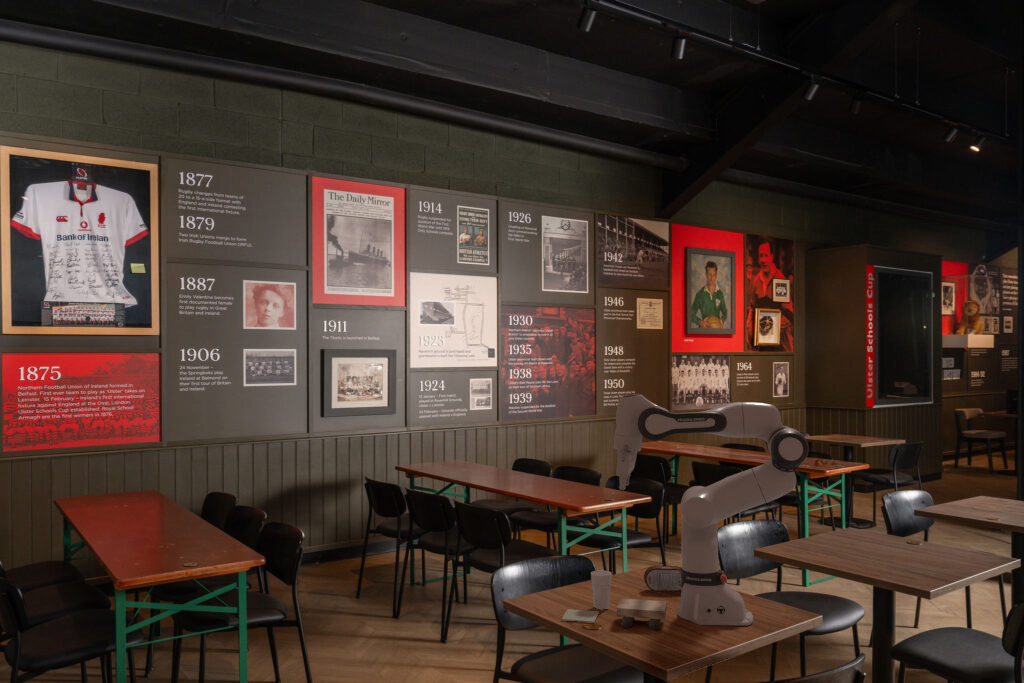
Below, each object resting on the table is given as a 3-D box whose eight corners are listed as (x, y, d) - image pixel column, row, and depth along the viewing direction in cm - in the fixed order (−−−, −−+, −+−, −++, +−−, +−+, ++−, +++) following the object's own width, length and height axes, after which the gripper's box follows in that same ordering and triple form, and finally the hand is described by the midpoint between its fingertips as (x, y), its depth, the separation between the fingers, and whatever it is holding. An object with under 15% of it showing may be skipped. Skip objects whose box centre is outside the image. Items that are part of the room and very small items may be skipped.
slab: (667, 618, 229) (666, 600, 230) (664, 631, 218) (664, 612, 218) (621, 615, 233) (621, 597, 233) (616, 627, 222) (616, 609, 222)
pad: (599, 613, 235) (599, 611, 235) (594, 623, 225) (594, 621, 225) (567, 611, 237) (567, 609, 238) (561, 621, 228) (561, 619, 228)
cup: (601, 612, 236) (600, 576, 237) (587, 607, 241) (586, 572, 242) (616, 608, 240) (615, 573, 240) (602, 603, 245) (601, 569, 246)
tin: (687, 590, 260) (687, 565, 260) (689, 592, 257) (688, 567, 257) (644, 589, 261) (643, 564, 262) (644, 592, 258) (644, 567, 258)
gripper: (634, 448, 229) (630, 493, 229) (640, 442, 249) (637, 484, 248) (613, 446, 231) (609, 490, 230) (621, 440, 250) (618, 481, 250)
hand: (624, 487), depth 240 cm, fingers open, 8 cm apart
